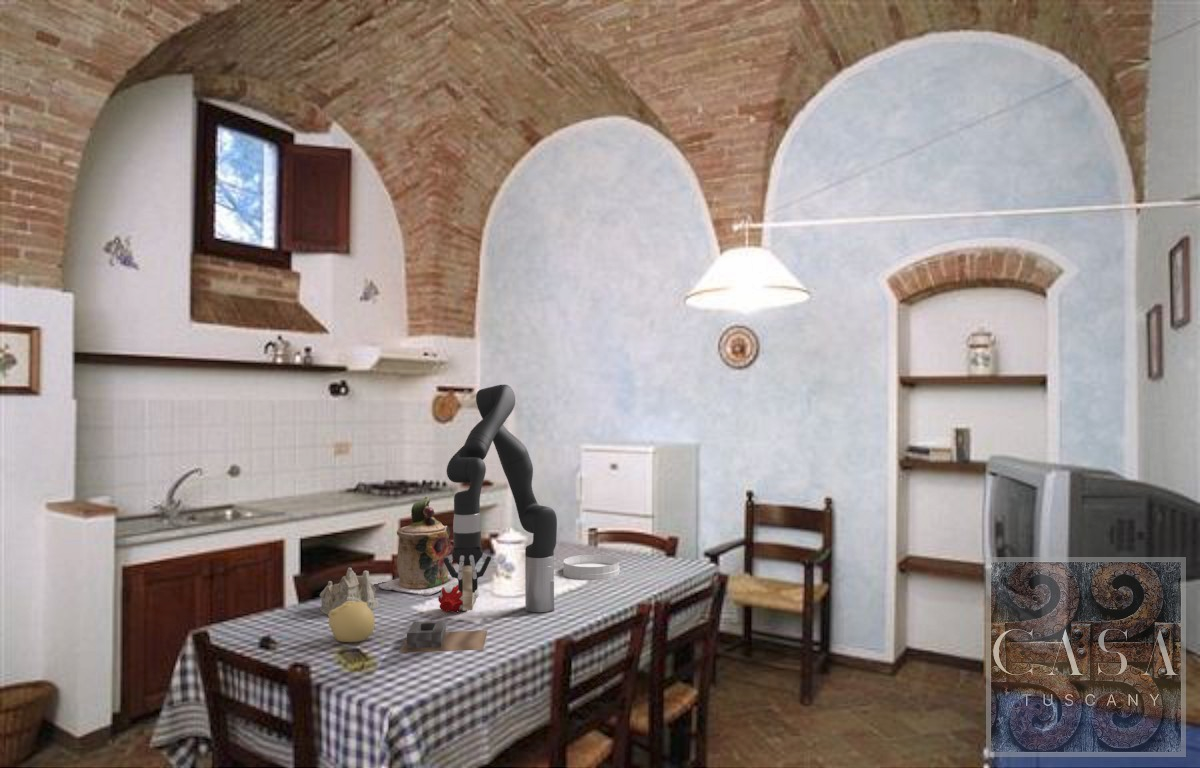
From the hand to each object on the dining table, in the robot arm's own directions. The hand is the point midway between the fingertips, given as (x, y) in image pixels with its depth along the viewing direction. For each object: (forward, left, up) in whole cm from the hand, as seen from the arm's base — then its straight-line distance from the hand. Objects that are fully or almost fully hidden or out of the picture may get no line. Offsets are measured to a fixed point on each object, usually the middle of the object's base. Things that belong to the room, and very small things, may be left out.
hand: (467, 591), depth 204 cm
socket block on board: (+6, 0, -15) cm, 16 cm away
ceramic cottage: (+42, -40, -15) cm, 60 cm away
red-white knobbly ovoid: (+7, -34, -15) cm, 37 cm away
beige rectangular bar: (0, 0, -4) cm, 4 cm away
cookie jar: (+22, -68, -15) cm, 74 cm away
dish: (-40, -81, -15) cm, 91 cm away
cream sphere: (+33, -9, -15) cm, 37 cm away
